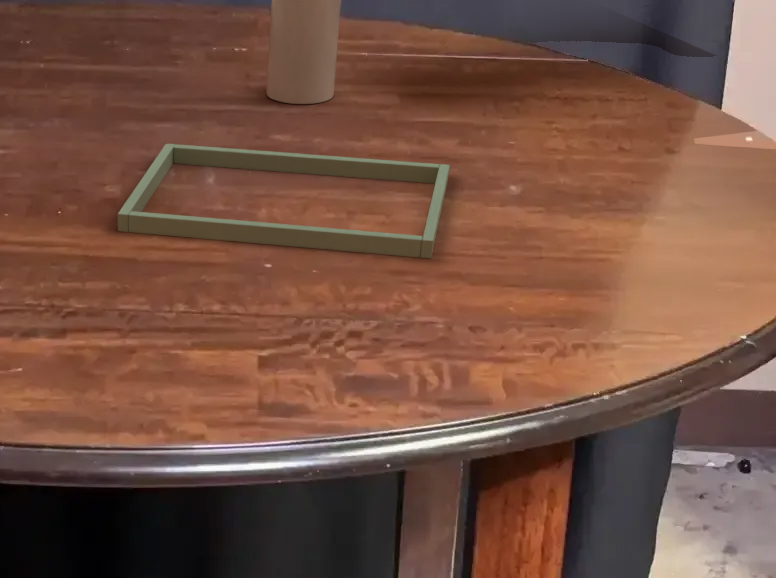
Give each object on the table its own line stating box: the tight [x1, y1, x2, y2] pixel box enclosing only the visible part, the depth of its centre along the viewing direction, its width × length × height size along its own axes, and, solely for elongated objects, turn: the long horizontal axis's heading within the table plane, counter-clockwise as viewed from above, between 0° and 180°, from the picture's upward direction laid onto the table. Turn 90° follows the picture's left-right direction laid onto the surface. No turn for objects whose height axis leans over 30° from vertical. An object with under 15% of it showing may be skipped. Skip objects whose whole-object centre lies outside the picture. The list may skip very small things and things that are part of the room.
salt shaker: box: [265, 0, 342, 105], centre depth 104 cm, size 5×5×11 cm
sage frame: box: [117, 143, 451, 259], centre depth 87 cm, size 17×12×2 cm
